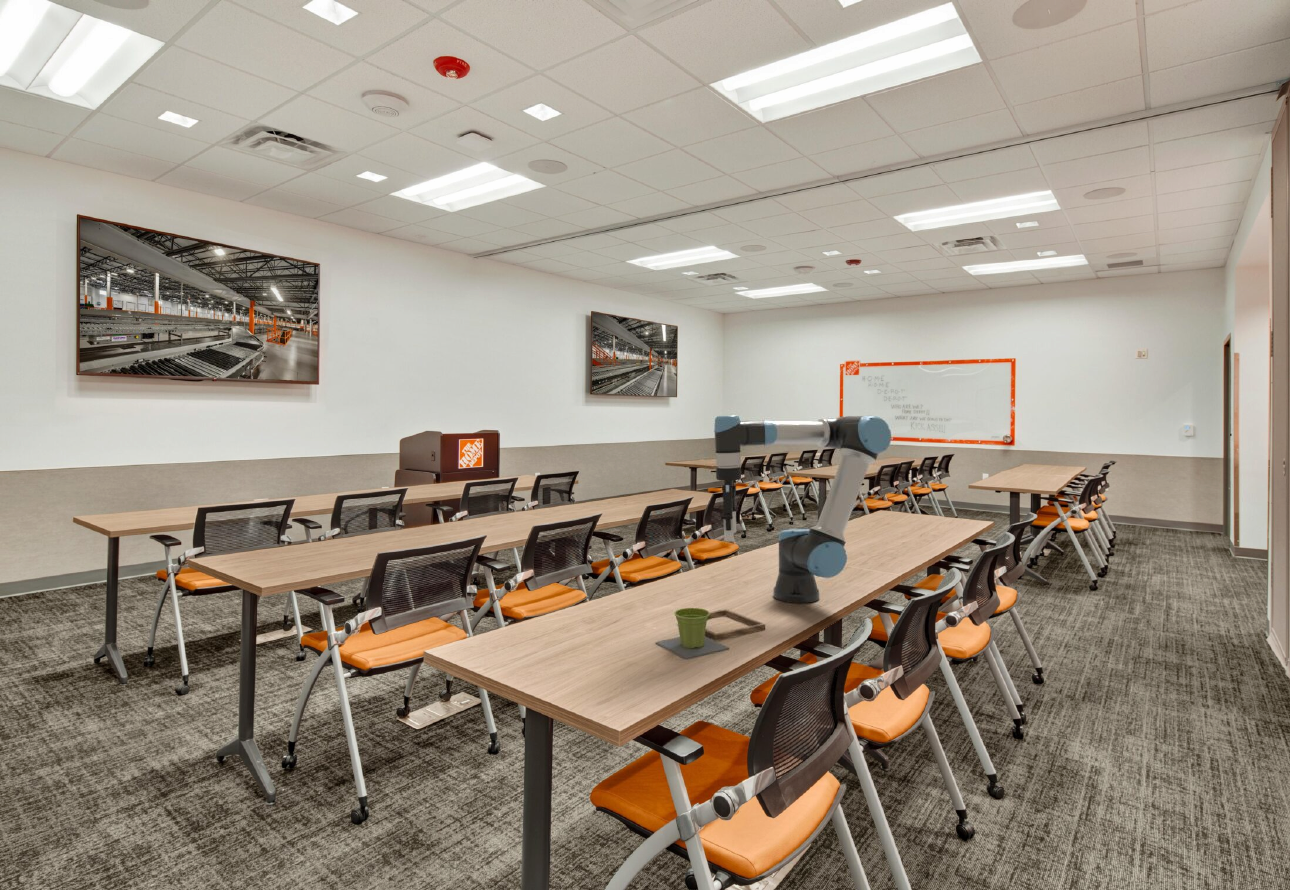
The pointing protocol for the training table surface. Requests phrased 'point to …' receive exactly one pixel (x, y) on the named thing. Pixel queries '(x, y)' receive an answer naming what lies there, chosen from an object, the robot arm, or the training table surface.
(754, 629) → the tray frame
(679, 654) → the mat
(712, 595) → the training table surface
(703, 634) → the plant pot
